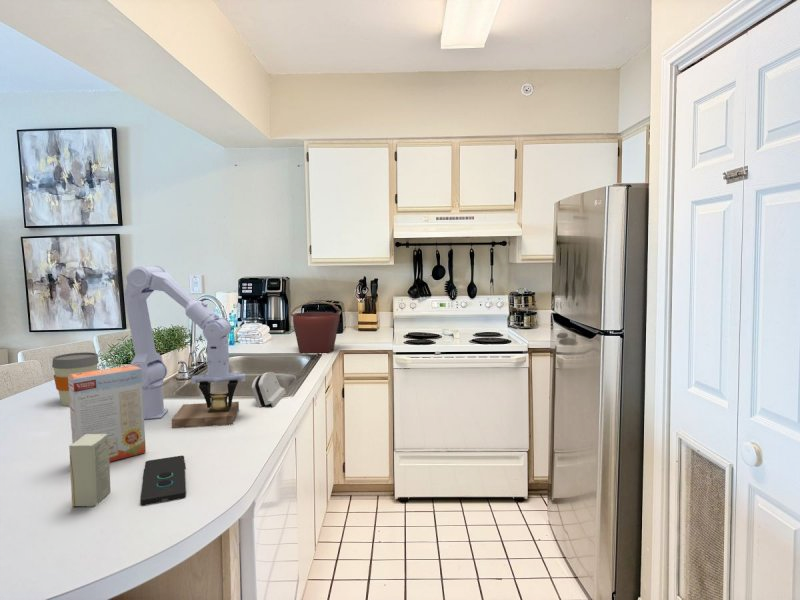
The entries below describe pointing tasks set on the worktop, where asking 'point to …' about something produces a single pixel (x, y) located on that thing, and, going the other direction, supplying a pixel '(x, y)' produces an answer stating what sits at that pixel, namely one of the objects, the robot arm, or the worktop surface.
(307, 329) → the bucket
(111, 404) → the cracker box
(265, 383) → the grey piece
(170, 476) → the smart home device
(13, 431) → the worktop surface
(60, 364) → the reusable coffee cup
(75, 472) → the skincare box
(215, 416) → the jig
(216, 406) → the bushing
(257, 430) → the worktop surface
